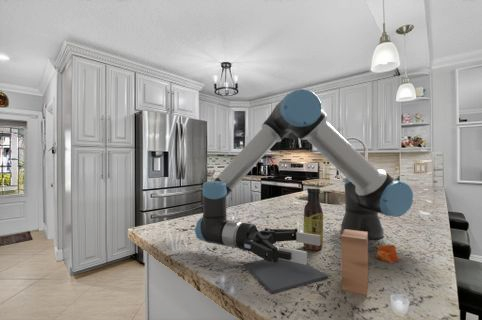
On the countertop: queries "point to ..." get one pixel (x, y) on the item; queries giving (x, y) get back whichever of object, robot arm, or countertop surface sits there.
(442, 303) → the countertop surface
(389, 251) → the rock
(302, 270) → the mat
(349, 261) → the block
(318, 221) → the sauce bottle
